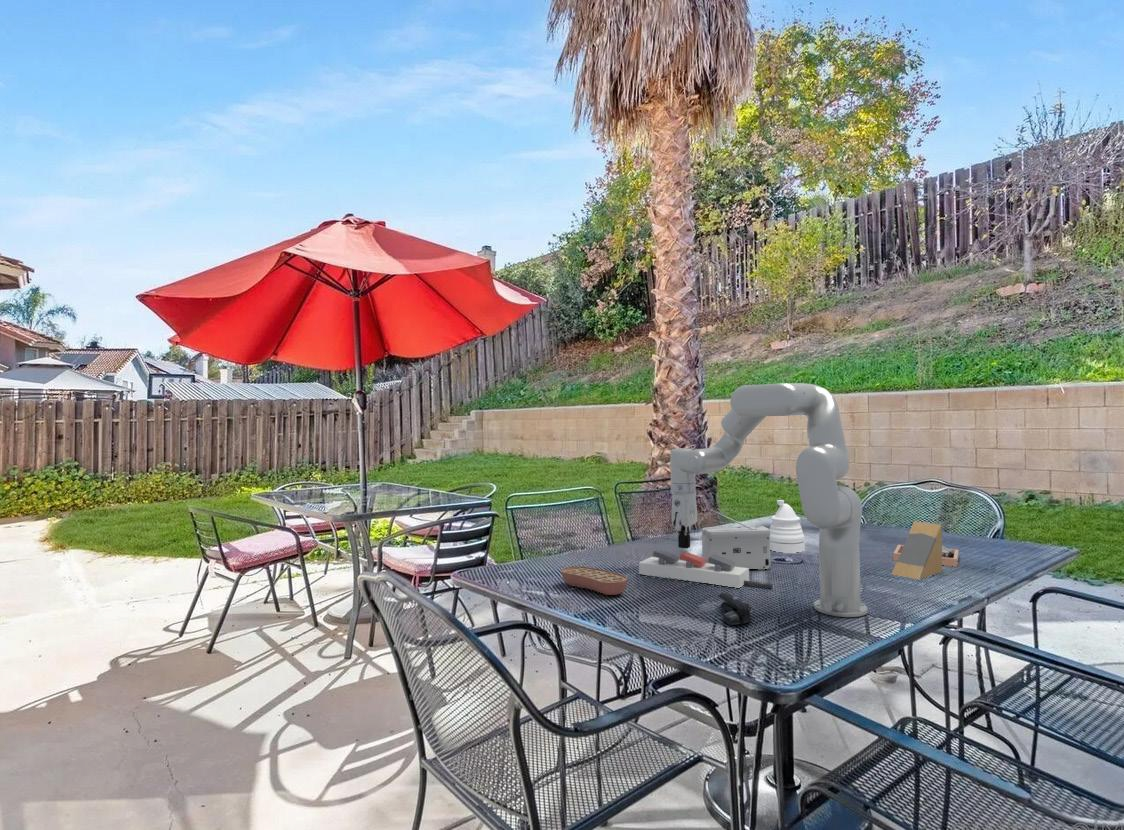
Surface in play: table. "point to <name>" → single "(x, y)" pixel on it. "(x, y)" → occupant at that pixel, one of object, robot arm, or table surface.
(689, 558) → the rocker red
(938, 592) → the table surface
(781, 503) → the honey pot
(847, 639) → the table surface
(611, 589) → the brown long rounded block
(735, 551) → the stereo radio cassette player
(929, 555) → the sandwich container
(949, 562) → the tan wooden tray
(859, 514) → the robot arm
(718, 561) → the rocker near
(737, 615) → the can opener
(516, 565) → the table surface
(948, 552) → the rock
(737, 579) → the power strip
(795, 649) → the table surface
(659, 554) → the rocker far
